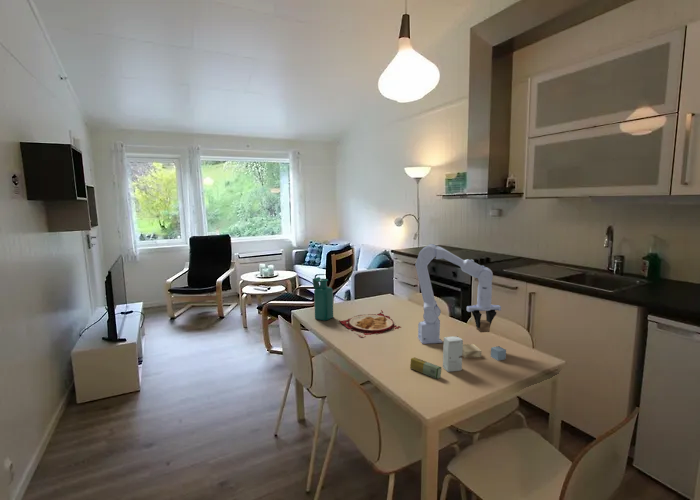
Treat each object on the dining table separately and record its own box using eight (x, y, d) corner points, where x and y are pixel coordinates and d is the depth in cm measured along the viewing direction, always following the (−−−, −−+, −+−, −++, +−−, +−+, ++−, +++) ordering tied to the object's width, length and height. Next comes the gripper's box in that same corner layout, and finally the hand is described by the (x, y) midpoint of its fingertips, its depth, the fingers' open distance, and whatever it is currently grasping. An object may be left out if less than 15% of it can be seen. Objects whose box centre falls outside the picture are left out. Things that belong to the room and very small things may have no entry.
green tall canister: (334, 317, 199) (334, 278, 196) (325, 321, 192) (324, 281, 189) (320, 314, 204) (319, 276, 201) (311, 318, 197) (310, 279, 194)
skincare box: (447, 372, 134) (448, 341, 133) (442, 367, 139) (442, 337, 137) (462, 370, 136) (463, 339, 134) (456, 365, 140) (457, 335, 138)
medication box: (441, 377, 131) (442, 367, 130) (437, 379, 129) (438, 368, 129) (413, 366, 139) (414, 356, 139) (409, 368, 137) (410, 358, 137)
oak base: (464, 358, 146) (465, 351, 146) (457, 351, 153) (457, 345, 153) (481, 357, 147) (481, 350, 147) (473, 350, 154) (473, 344, 154)
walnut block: (480, 332, 153) (480, 323, 152) (476, 329, 157) (476, 320, 156) (489, 332, 153) (489, 323, 153) (485, 328, 157) (485, 319, 157)
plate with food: (338, 323, 190) (338, 317, 190) (381, 314, 202) (381, 308, 201) (360, 340, 169) (360, 333, 168) (407, 329, 180) (407, 322, 180)
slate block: (497, 360, 143) (498, 351, 143) (490, 356, 147) (491, 347, 147) (505, 359, 145) (506, 349, 144) (498, 355, 149) (498, 346, 148)
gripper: (472, 299, 148) (470, 330, 150) (505, 298, 150) (503, 329, 152) (465, 295, 155) (463, 325, 157) (496, 293, 157) (495, 323, 159)
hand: (482, 326), depth 155 cm, fingers closed on walnut block, 4 cm apart
